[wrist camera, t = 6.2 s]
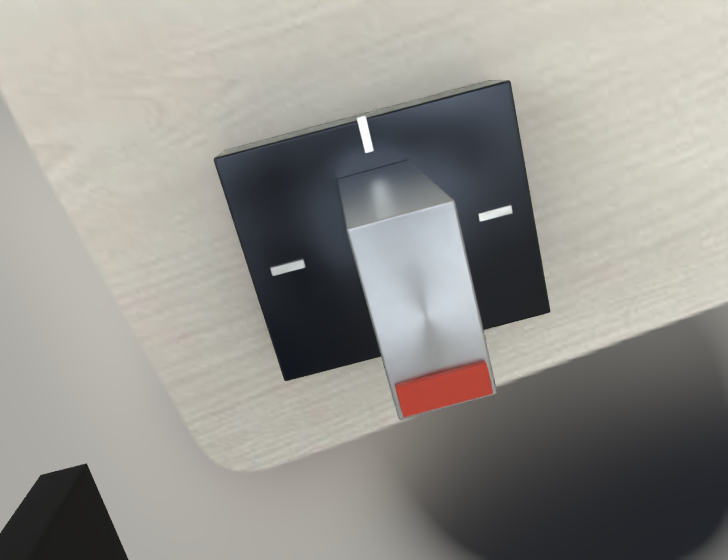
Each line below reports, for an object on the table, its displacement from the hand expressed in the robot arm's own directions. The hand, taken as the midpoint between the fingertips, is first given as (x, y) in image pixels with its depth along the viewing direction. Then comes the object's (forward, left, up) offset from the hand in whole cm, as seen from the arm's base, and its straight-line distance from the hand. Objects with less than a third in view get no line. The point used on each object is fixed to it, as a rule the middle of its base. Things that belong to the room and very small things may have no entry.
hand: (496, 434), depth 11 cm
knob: (0, -1, -17) cm, 17 cm away
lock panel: (0, -1, -20) cm, 20 cm away
